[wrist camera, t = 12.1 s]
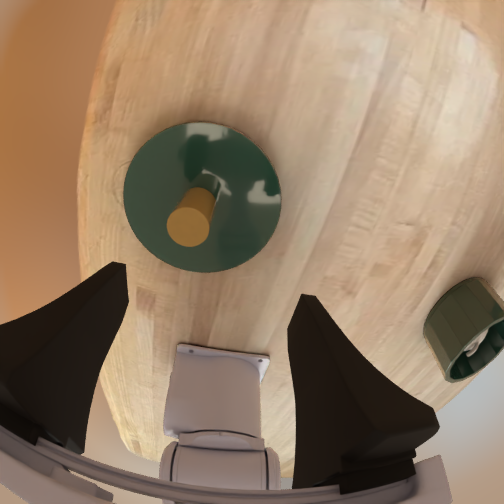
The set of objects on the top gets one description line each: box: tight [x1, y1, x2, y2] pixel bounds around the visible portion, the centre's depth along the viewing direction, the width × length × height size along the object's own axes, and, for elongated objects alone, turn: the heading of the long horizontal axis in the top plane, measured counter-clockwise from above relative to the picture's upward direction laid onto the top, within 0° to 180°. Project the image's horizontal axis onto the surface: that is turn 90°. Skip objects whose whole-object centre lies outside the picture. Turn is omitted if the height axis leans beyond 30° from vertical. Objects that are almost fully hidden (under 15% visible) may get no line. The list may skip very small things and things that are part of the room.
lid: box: [123, 122, 281, 273], centre depth 17 cm, size 11×11×5 cm
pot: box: [423, 277, 504, 383], centre depth 23 cm, size 10×10×6 cm
